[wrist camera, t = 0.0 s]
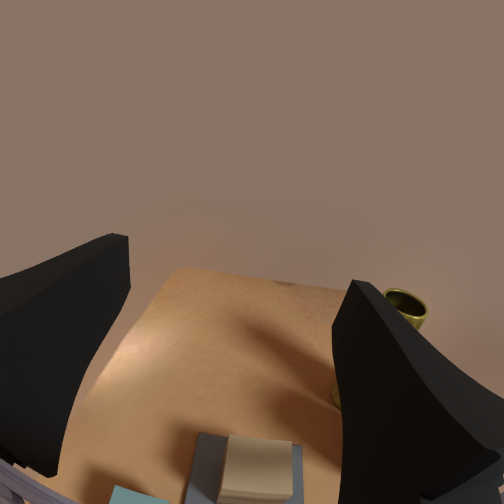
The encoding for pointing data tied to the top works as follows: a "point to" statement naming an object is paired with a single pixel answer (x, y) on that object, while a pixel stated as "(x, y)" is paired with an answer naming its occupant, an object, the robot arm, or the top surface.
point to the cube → (133, 497)
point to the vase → (408, 308)
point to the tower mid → (257, 470)
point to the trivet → (209, 466)
